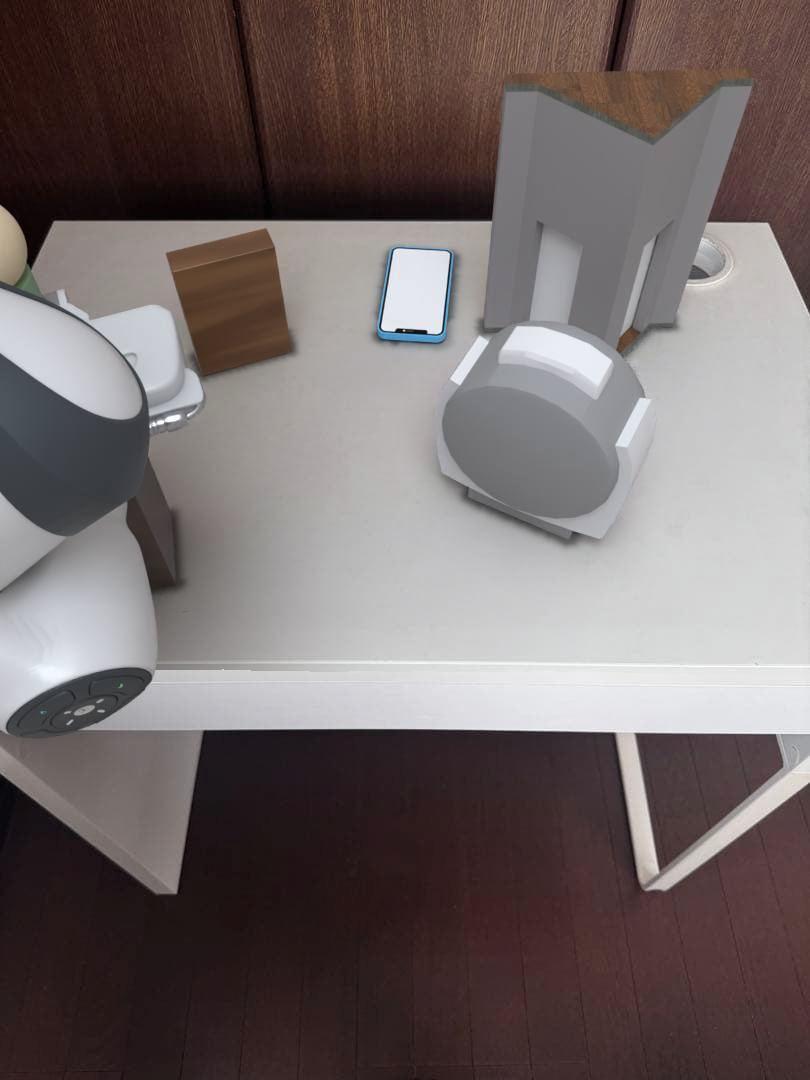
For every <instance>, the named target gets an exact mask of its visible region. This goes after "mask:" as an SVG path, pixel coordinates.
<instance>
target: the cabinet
mask: <svg viewBox="0 0 810 1080" xmlns="http://www.w3.org/2000/svg"><path fill="white" fill-rule="evenodd" d="M755 80H756V77H755V75H754V73H753V71H752V68H751V67H742V68H740V67H739V68H738V67H737V68H699V69H697V68H695V69H694V68H693V69H658V70H657V69H655V70H651V69H650V70H617V71H616V70H614V71H571V72H570V71H569V72H567V71H566V72H529V73H527V72H526V73H505V74H504V85H503V96H502V107H501V117H500V130H499V140H498V150H497V151H498V152H497V163H496V174H495V182H494V183H495V185H494V196H493V206H492V207H493V208H492V217H491V227H490V228H491V229H490V241H489V250H488V251H489V252H488V262H487V274H486V286H485V295H484V305H483V306H484V307H483V318H482V326H483V333H498V332H499V331H501V330H502V329H504V328H506V327H507V326H509V325H513V324H517V323H521V322H525V321H555V322H559V323H563V324H567V325H571V326H575V327H578V328H580V329H582V330H584V331H586V332H588V333H590V334H593V335H595V336H597V337H598V338H600V339H601V340H603V341H604V342H605V343H607V344H608V345H609V346H611V347H612V348H613V349H615V350H616V351H617V352H618V353H619V354H620V355H621V356H622V355H624V354H625V352H626V351H628V349H630V347H631V346H632V345H633V344H634V343H635V342H637V340H638V339H640V337H641V336H642V335H643V334H644V333H645V332H646V331H647V330H648V329H655V328H656V329H658V328H659V329H661V328H673V325H674V322H675V321H676V320H675V319H676V317H677V313H678V310H679V307H680V304H681V302H682V299H683V297H684V296H683V295H684V293H685V290H686V287H687V283H688V280H689V278H690V274H691V272H692V268H693V266H694V263H695V259H696V256H697V254H698V251H699V247H700V245H701V241H702V238H703V236H704V233H705V229H706V226H707V224H708V220H709V217H710V214H711V212H712V208H713V206H714V203H715V199H716V196H717V193H718V191H719V188H720V185H721V182H722V179H723V176H724V173H725V170H726V167H727V163H728V160H729V158H730V154H731V152H732V149H733V146H734V143H735V140H736V137H737V134H738V130H739V128H740V125H741V122H742V119H743V116H744V113H745V109H746V107H747V103H748V101H749V98H750V95H751V92H752V88H753V86H754V82H755Z"/></svg>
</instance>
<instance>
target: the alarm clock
mask: <svg viewBox="0 0 810 1080" xmlns="http://www.w3.org/2000/svg"><path fill="white" fill-rule="evenodd" d="M434 425H435V426H434V429H435V440H436V449H437V450H436V451H437V455H438V460H439V466H440V470H441V474H443V475H445V476H447V477H449V478H451V479H452V480H453V481H456V482H458V483H460V484H461V485H463V486H464V487H467V488H468V495H467V497H468V499H471V500H473V501H476V502H478V503H481V504H484V505H485V506H487V507H490V508H493V509H494V510H497V511H500V512H501V513H504V514H507V515H509V516H511V517H513V518H516V519H519V520H521V521H523V522H526V523H528V524H531V525H532V526H535V527H537V528H540V529H542V530H544V531H546V532H550V533H551V534H554V535H556V536H559V537H560V538H563V539H566V540H570V539H571V537H572V535H573V533H574V532H576V533H579V534H582V535H585V536H589V537H591V538H595V539H599V540H602V538H603V537H604V536H605V535H606V534H607V532H608V531H609V529H610V528H611V526H612V525H613V524H614V523H615V521H616V519H617V518H618V516H619V513H620V512H621V510H622V508H623V506H624V504H625V502H626V500H627V498H628V496H629V494H630V492H631V491H632V488H633V486H634V484H635V482H636V479H637V478H638V476H639V474H640V472H641V470H642V467H643V466H644V464H645V462H646V460H647V457H648V455H649V452H650V450H651V447H652V446H653V443H654V439H655V434H656V426H657V416H656V411H655V406H654V402H653V398H646V393H645V389H644V387H643V385H642V383H641V382H640V380H639V378H638V376H637V374H636V372H635V370H634V368H633V367H632V366H631V365H630V364H629V363H628V361H627V360H626V359H625V358H624V357H623V356H622V355H620V354H619V353H618V352H617V351H616V350H615V349H613V348H612V347H611V346H609V345H608V344H607V343H605V342H604V341H603V340H601V339H600V338H598V337H597V336H595V335H593V334H590V333H588V332H586V331H584V330H582V329H580V328H578V327H575V326H571V325H567V324H563V323H559V322H555V321H525V322H521V323H517V324H513V325H509V326H507V327H506V328H504V329H502V330H501V331H499V332H495V333H494V334H493V335H492V337H490V339H489V340H487V339H486V338H484V337H483V336H481V335H478V336H477V338H476V339H475V341H473V343H472V344H471V346H470V347H469V348H468V349H467V351H466V353H465V354H464V355H463V357H462V358H461V359H460V361H459V362H458V364H457V365H456V367H455V368H454V370H453V372H452V373H451V375H450V376H449V377H448V379H447V380H446V381H445V383H444V385H443V386H442V387H441V389H440V390H439V391H438V396H437V400H436V403H435V409H434Z"/></svg>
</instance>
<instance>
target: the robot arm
mask: <svg viewBox="0 0 810 1080" xmlns="http://www.w3.org/2000/svg"><path fill="white" fill-rule="evenodd" d="M41 294H42V296H43V298H41V297H39V296H37V295H34V294H32V293H29V292H27V291H24V290H22V289H19V288H17V287H14V286H12V285H9V284H7V283H5V282H2V281H0V731H1V732H3V733H4V734H6V735H9V736H12V737H17V738H22V739H37V740H38V739H49V738H55V737H61V736H64V735H68V734H73V733H76V732H78V731H79V730H84V729H85V728H87V727H91V726H93V725H94V724H95V725H97V724H99V723H101V722H103V721H105V720H106V719H108V718H109V717H111V716H112V715H114V714H115V713H117V712H119V711H121V709H123V708H124V707H126V706H128V705H129V704H130V703H131V702H132V701H134V700H135V699H136V698H137V697H139V696H140V695H142V693H144V692H145V690H146V688H147V687H148V686H149V685H150V684H151V683H152V681H153V679H154V676H155V673H156V669H157V664H158V652H159V646H158V645H159V642H158V640H159V639H158V629H157V627H158V626H157V619H156V613H155V606H154V600H153V595H152V591H151V589H150V585H149V580H148V576H147V572H146V568H145V564H144V560H143V556H142V552H141V549H140V546H139V544H138V542H137V540H136V538H135V537H134V535H133V534H132V532H131V531H130V530H129V528H128V526H127V523H126V514H127V501H128V500H130V499H131V498H133V497H134V496H135V495H136V494H137V492H138V491H139V489H140V487H141V484H142V480H143V477H144V473H145V468H146V464H147V458H148V457H149V451H150V438H151V437H154V436H157V435H160V434H163V433H172V432H177V431H179V430H182V429H185V428H187V427H188V426H189V421H190V420H192V419H194V418H196V417H197V416H198V415H199V414H200V413H201V412H202V411H203V410H204V408H206V404H207V395H206V391H205V388H204V385H203V383H202V379H201V378H200V376H199V375H198V374H197V373H196V372H195V371H193V370H192V369H190V368H188V367H189V366H188V363H187V357H186V353H185V351H184V347H183V342H182V339H181V336H180V333H179V329H178V327H177V323H176V320H175V317H174V314H173V312H172V311H171V310H170V309H168V308H165V307H164V306H162V305H159V304H156V303H155V304H153V303H152V304H148V305H143V306H140V307H136V308H133V309H128V310H124V311H121V312H117V313H113V314H108V315H105V316H101V317H97V318H93V319H91V318H90V315H89V314H88V313H86V312H85V311H83V309H80V308H78V307H77V306H76V305H74V304H72V303H71V301H70V298H69V296H68V294H67V292H66V290H65V288H60V289H58V290H54V291H51V292H47V293H41Z"/></svg>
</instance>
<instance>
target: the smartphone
mask: <svg viewBox="0 0 810 1080" xmlns="http://www.w3.org/2000/svg"><path fill="white" fill-rule="evenodd" d="M388 254H389V255H388V261H387V266H386V273H385V279H384V284H383V289H382V297H381V302H380V307H379V308H380V309H379V314H378V320H377V326H376V327H377V328H376V329H377V331H376V332H377V336H378V337H379V338H380V339H383V340H390V341H404V342H405V341H408V342H420V343H421V342H423V343H440V342H443V341H444V340H445V338H446V334H447V326H448V325H447V324H448V317H449V315H448V314H449V307H450V296H451V287H452V276H453V267H454V252H453V251H452V250H451V249H448V248H438V247H420V246H403V245H397V246H393V247H392V248H391V249H390V250H389V253H388Z"/></svg>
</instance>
